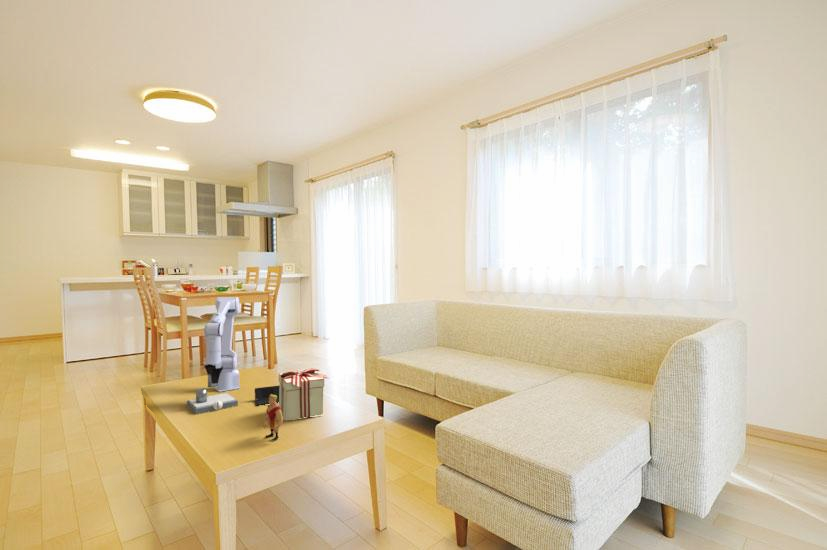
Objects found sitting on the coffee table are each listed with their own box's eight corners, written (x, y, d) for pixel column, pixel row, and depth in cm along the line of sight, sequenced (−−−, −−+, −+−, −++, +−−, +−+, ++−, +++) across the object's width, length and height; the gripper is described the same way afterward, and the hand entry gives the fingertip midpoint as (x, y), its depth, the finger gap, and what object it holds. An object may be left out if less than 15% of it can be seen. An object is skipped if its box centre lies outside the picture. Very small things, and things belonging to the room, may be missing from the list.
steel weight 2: (216, 384, 177) (216, 372, 177) (219, 386, 174) (219, 374, 174) (206, 385, 175) (206, 374, 175) (209, 387, 172) (209, 376, 171)
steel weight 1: (205, 399, 170) (205, 387, 169) (208, 401, 167) (208, 389, 166) (194, 401, 167) (194, 389, 167) (197, 403, 164) (197, 391, 164)
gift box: (288, 425, 148) (288, 378, 148) (275, 411, 163) (275, 368, 163) (332, 416, 157) (332, 372, 157) (316, 404, 173) (316, 363, 173)
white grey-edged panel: (226, 397, 180) (226, 389, 180) (238, 406, 169) (238, 397, 169) (186, 405, 169) (186, 396, 169) (196, 414, 158) (196, 405, 158)
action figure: (260, 435, 138) (260, 392, 138) (270, 432, 141) (270, 389, 141) (274, 443, 132) (274, 398, 132) (284, 440, 135) (284, 395, 135)
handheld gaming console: (258, 404, 167) (257, 381, 173) (253, 411, 172) (252, 388, 177) (285, 403, 174) (284, 381, 180) (280, 409, 178) (278, 388, 184)
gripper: (198, 349, 177) (198, 380, 177) (208, 354, 166) (208, 387, 166) (216, 347, 182) (215, 377, 182) (226, 352, 171) (226, 384, 171)
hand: (213, 382), depth 174 cm, fingers closed on steel weight 2, 4 cm apart
